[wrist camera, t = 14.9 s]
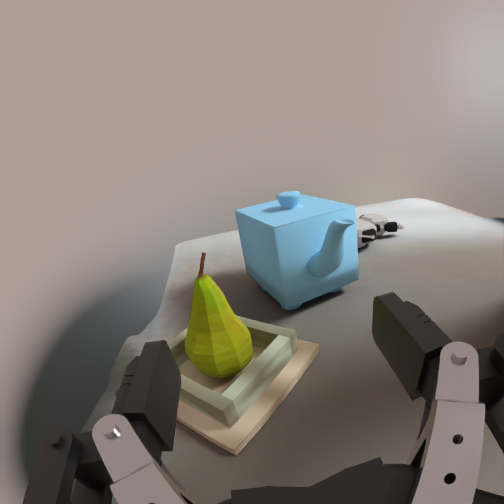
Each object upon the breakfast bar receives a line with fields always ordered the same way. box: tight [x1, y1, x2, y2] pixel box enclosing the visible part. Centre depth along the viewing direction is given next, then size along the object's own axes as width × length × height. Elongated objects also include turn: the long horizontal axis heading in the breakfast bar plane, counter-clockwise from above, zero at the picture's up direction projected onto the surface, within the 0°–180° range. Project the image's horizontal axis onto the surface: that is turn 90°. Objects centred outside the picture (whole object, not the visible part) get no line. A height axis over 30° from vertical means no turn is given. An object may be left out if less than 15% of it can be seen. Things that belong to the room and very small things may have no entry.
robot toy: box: [356, 214, 404, 248], centre depth 54 cm, size 12×4×15 cm
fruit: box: [185, 253, 253, 379], centre depth 25 cm, size 6×6×12 cm
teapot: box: [235, 191, 358, 310], centre depth 38 cm, size 22×11×14 cm, turn 22°
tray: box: [167, 316, 319, 456], centre depth 27 cm, size 14×14×4 cm
